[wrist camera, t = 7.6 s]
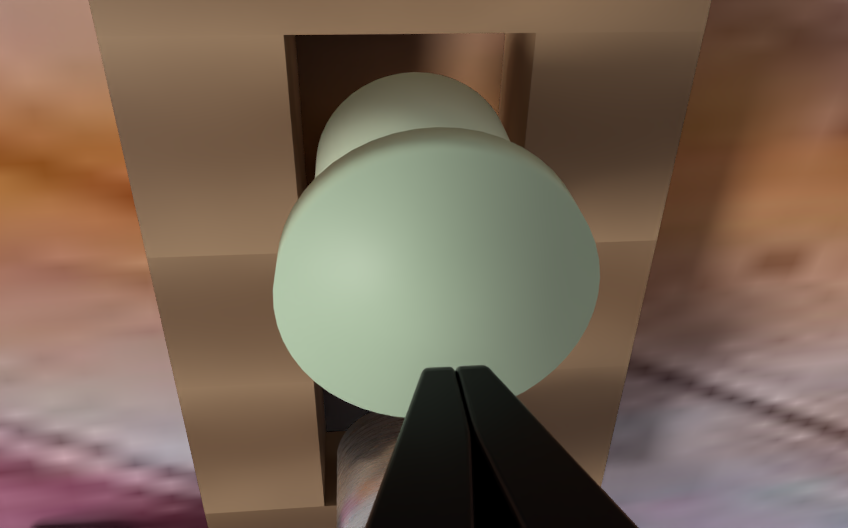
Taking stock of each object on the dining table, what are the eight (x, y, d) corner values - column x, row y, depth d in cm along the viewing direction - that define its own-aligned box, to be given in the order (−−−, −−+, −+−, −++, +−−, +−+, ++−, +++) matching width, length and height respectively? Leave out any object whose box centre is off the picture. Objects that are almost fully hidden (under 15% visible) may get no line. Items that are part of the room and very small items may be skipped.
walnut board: (565, 467, 26) (588, 538, 24) (228, 488, 25) (216, 565, 23) (796, -789, 11) (929, -957, 9) (-34, -871, 10) (-159, -1088, 7)
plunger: (491, 506, 22) (523, 663, 18) (323, 518, 21) (320, 681, 18) (504, 382, 19) (546, 536, 15) (312, 392, 19) (305, 553, 15)
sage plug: (521, 263, 17) (576, 410, 13) (300, 271, 16) (287, 426, 12) (545, 44, 14) (625, 145, 10) (280, 47, 13) (255, 154, 10)
